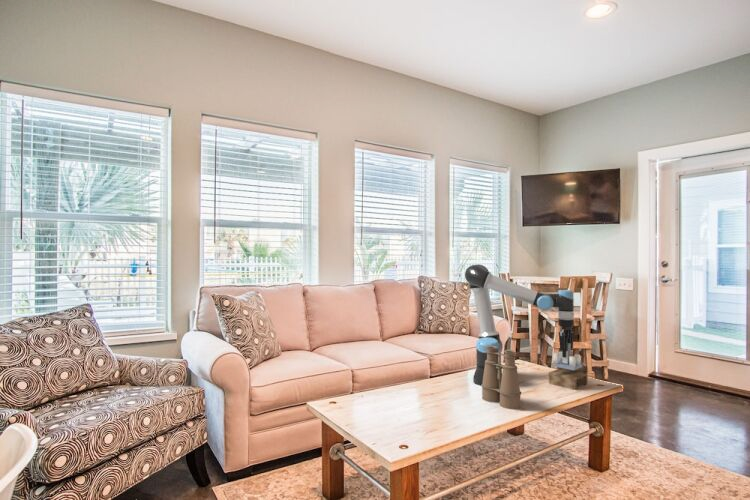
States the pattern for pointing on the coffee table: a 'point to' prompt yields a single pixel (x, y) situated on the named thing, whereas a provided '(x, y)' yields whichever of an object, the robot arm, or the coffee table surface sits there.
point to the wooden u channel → (568, 377)
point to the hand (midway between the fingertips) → (566, 362)
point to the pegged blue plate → (573, 361)
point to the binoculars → (501, 379)
